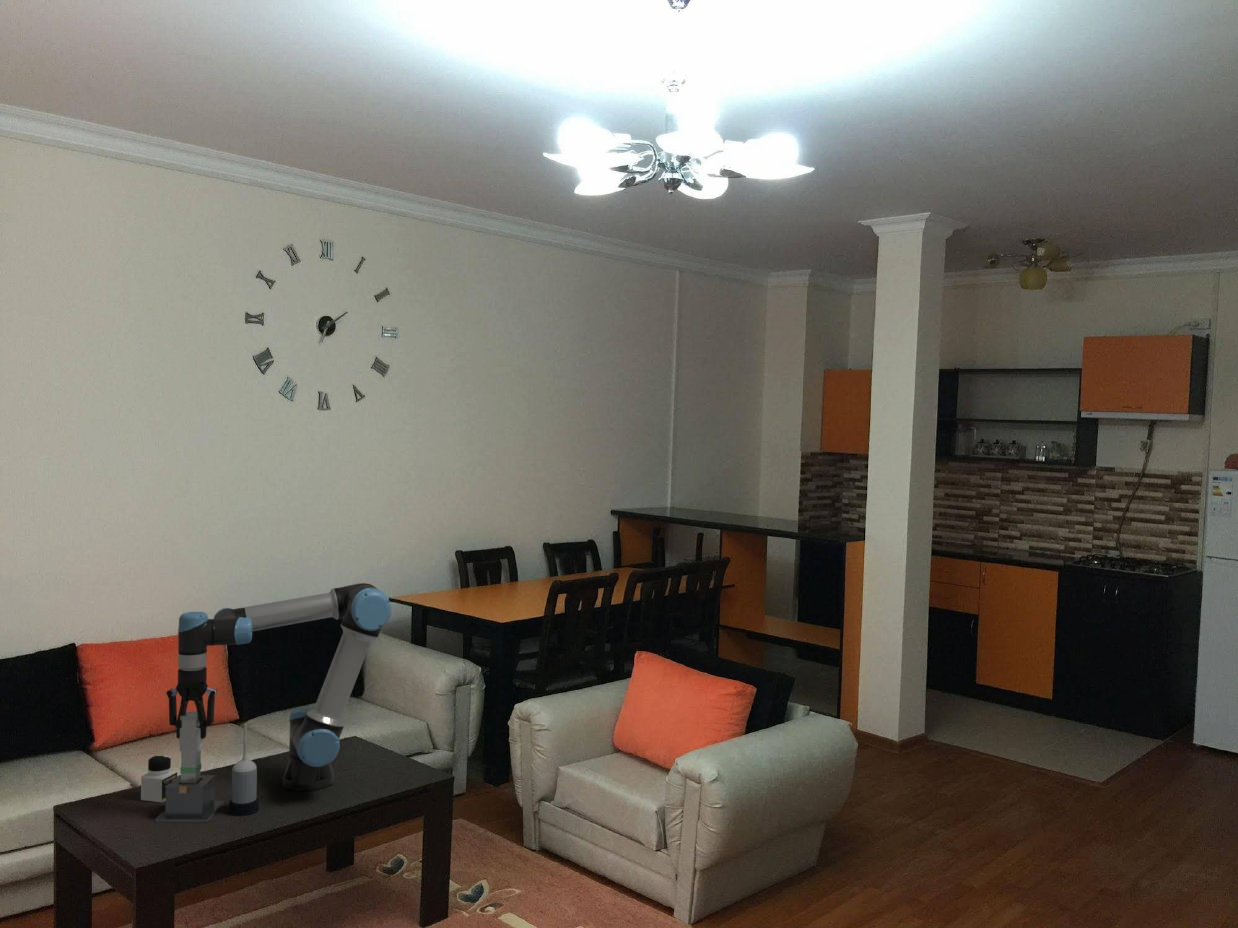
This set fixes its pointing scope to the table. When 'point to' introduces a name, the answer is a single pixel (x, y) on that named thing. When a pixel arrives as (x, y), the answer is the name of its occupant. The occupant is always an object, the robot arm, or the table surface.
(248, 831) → the table surface
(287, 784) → the robot arm
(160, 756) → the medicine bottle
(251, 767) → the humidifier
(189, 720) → the column
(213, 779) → the stand housing
